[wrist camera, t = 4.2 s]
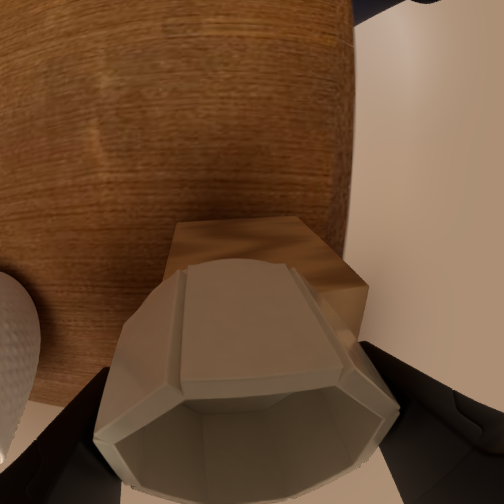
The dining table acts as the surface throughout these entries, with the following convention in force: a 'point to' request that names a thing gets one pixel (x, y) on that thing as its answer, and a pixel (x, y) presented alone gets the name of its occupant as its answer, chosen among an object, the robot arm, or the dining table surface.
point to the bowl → (239, 389)
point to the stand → (273, 256)
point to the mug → (16, 355)
